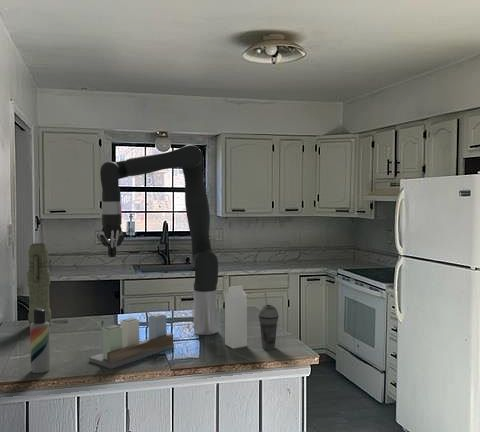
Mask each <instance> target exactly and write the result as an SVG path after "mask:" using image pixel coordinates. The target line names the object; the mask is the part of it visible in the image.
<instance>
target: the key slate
mask: <svg viewBox="0 0 480 432" xmlns="http://www.w3.org/2000/svg"><path fill="white" fill-rule="evenodd" d="M167 328H168V326H167V315H166V314H163V313H155V314H152V315H150V316H148V339H149V340H150V339H153V338H157V337H160V336H163V335H167V330H168V329H167Z"/></svg>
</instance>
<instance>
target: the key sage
mask: <svg viewBox="0 0 480 432" xmlns="http://www.w3.org/2000/svg"><path fill="white" fill-rule="evenodd" d="M101 334H102V335H101V336H102V337H101V341H102V342H101V343H102V345H101V346H102V347H101V348H102V353H103V359H106V360H107V352H111V351H114V350H117V349H121V348H122V327H120V325H116V324H112V325H108V326H105V327H102V328H101Z"/></svg>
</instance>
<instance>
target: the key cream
mask: <svg viewBox="0 0 480 432" xmlns="http://www.w3.org/2000/svg"><path fill="white" fill-rule="evenodd" d="M119 323H120V325H119V326H120V327H122V348H124V347H127V346H130V345H134V344H137V343H139V342H140V319H139V318H134V317H129V318H124V319H121V320H120V322H119Z"/></svg>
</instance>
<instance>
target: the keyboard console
mask: <svg viewBox="0 0 480 432" xmlns="http://www.w3.org/2000/svg"><path fill="white" fill-rule="evenodd" d="M171 348H172V349H174V348H175V343H174V333H171V332H170V333H168V334H167V335H163V336H160V337H157V338H153V339H150V340H149V338H148V339H144V340H142V341H139V343H137V344H134V345H130V346H127V347H124V348H121V349H117V350H114V351H111V352H107V360H106V359H103V352H102V353H99V354H95V355H92V356H89V359H88V360H89V363H93V364H94V365H98V366H102V367H103V368H107V369H110V370H112V369H115V368H119V367H121V366H123V365H127V364H130V363H133V362H135V361H139V360H141V359H145V358H147V356H148V357H151V356H153V355H152V354H154V355H156V353H157V354H159V353H158V352H160V353H162V352H161V351H163V352H165V351H164V350H166V351H168V350H167V349H169V350H171ZM150 355H151V356H150Z"/></svg>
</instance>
